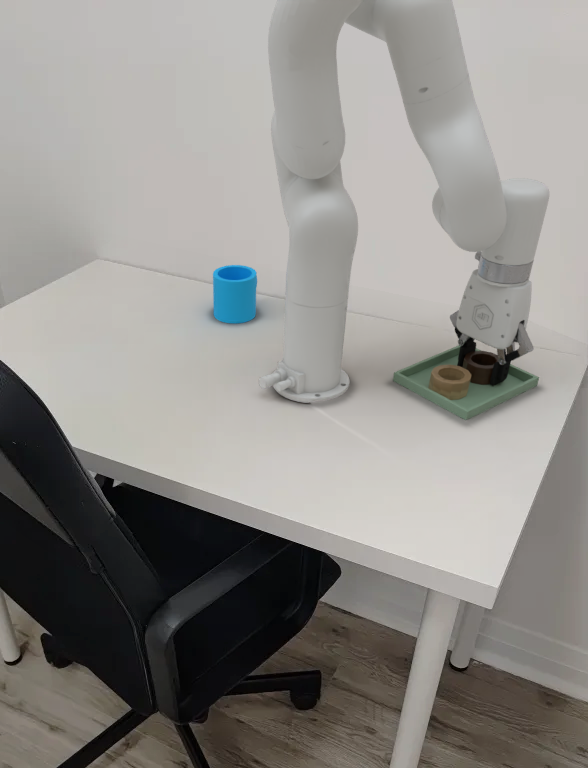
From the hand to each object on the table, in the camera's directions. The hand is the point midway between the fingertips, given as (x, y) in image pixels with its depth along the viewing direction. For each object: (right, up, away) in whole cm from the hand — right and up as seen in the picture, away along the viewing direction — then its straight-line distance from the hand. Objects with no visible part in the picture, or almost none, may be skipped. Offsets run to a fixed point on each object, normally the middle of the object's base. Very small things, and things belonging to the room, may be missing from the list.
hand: (480, 373), depth 127 cm
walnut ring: (0, 0, 0) cm, 0 cm away
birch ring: (-6, -3, -3) cm, 8 cm away
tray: (-3, -2, -1) cm, 4 cm away
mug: (-39, +16, +23) cm, 48 cm away
